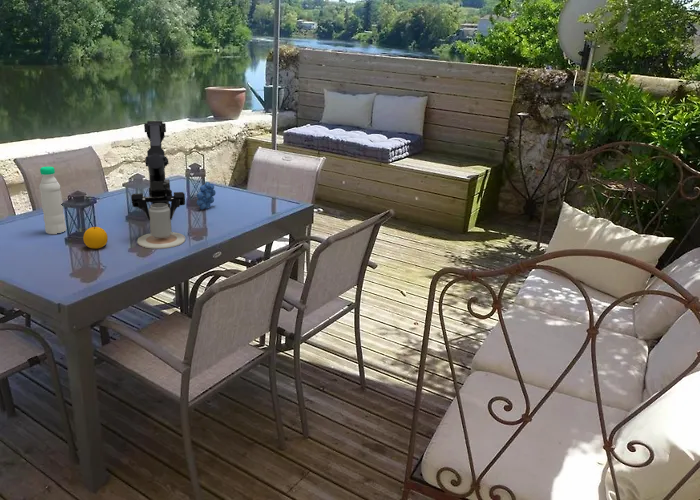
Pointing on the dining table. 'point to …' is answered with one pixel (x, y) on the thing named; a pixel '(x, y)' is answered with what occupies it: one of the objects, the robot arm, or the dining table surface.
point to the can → (160, 220)
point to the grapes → (205, 196)
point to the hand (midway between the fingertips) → (160, 219)
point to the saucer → (161, 241)
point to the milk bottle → (51, 202)
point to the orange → (95, 237)
